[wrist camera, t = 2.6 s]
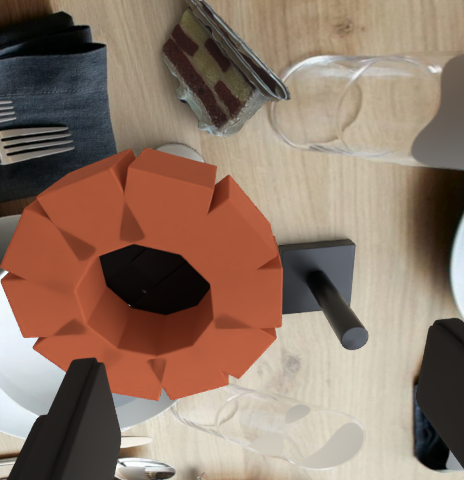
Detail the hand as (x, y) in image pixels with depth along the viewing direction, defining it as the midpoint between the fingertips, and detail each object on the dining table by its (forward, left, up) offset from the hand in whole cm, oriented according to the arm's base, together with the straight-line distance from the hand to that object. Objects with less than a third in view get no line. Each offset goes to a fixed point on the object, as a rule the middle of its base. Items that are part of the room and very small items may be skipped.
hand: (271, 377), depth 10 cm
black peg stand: (+12, +10, -27) cm, 32 cm away
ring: (0, -4, -7) cm, 8 cm away
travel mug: (0, -4, -27) cm, 28 cm away
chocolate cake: (-9, 0, -27) cm, 29 cm away
